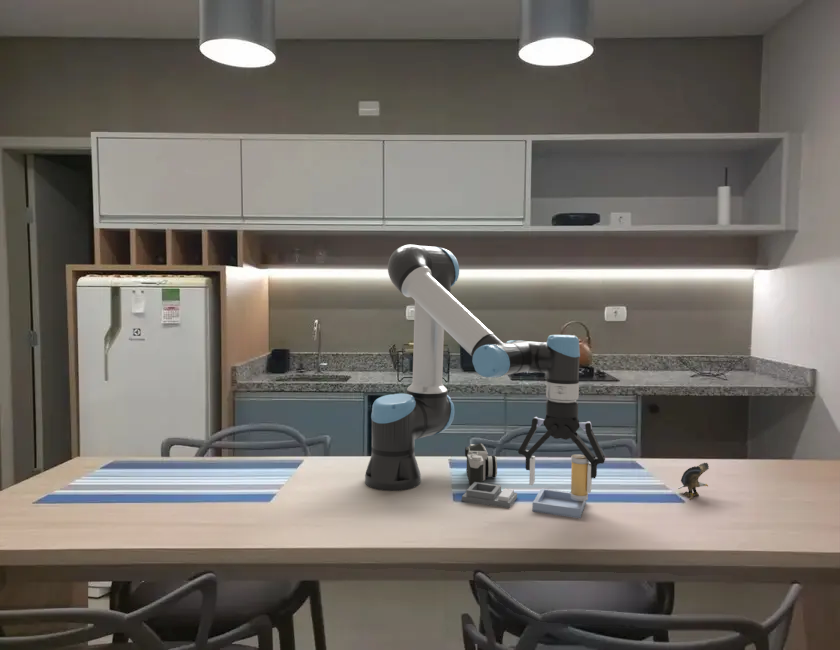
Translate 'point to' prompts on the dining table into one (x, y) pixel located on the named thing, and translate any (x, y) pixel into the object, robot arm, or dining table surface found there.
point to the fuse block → (489, 495)
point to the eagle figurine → (693, 479)
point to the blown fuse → (579, 477)
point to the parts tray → (557, 503)
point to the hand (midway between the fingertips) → (560, 487)
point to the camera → (479, 463)
